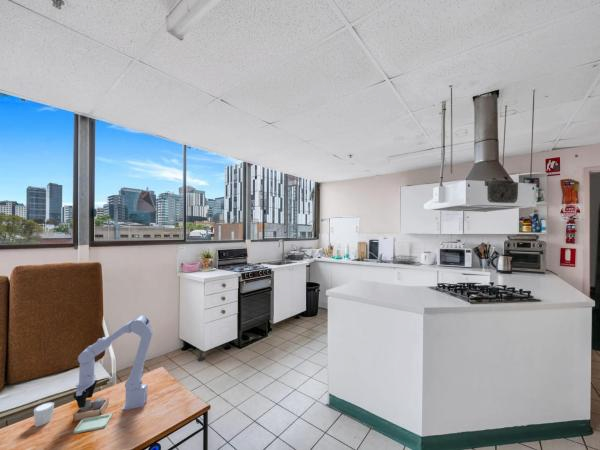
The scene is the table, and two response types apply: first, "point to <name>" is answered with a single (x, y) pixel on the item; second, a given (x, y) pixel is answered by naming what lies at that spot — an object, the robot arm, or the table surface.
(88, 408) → the pebble
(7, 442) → the table surface
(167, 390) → the table surface
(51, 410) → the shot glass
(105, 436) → the table surface
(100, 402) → the pebble
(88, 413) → the dish
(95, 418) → the parts tray
